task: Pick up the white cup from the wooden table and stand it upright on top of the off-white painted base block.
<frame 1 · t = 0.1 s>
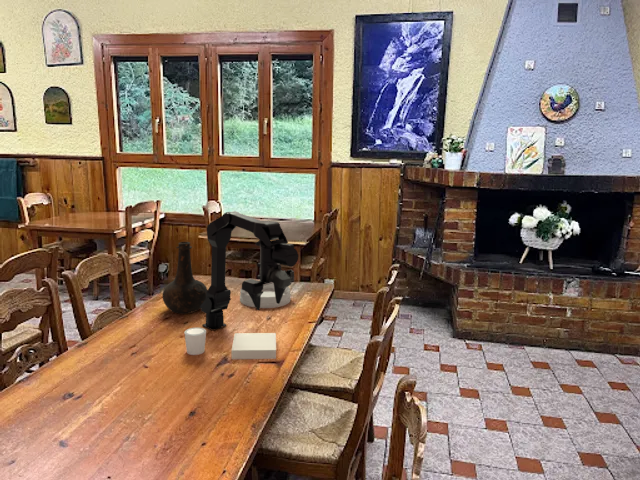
hand: (268, 306, 158), 15 cm above the table, tool pointing down, fingers open, 9 cm apart
glass bottle: (185, 310, 195), on the table
white cup: (195, 351, 157), on the table
base block: (254, 349, 160), on the table
dish: (265, 300, 211), on the table
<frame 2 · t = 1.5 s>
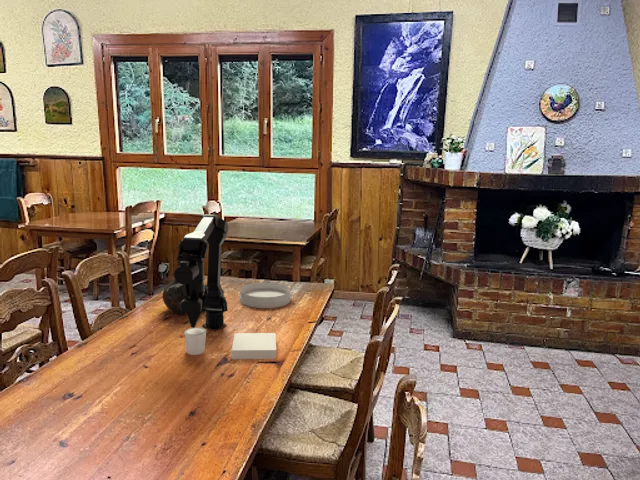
hand: (195, 322, 155), 10 cm above the table, tool pointing down, fingers open, 9 cm apart
nothing on the table moved.
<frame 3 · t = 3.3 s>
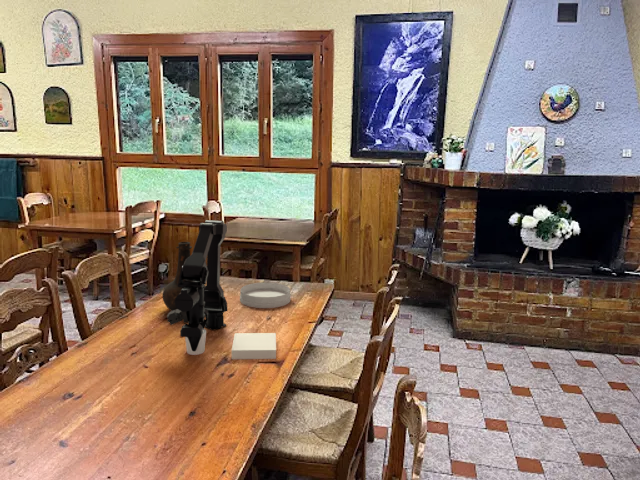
hand: (195, 346, 157), 2 cm above the table, tool pointing down, fingers closed on white cup, 6 cm apart
white cup: (195, 351, 157), on the table, touching gripper
everything else where it was.
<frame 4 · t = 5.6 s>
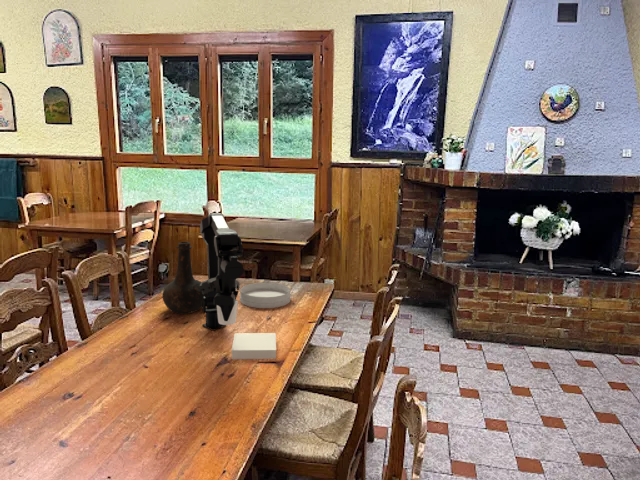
hand: (227, 317, 156), 12 cm above the table, tool pointing down, fingers closed on white cup, 6 cm apart
white cup: (227, 322, 156), point 10 cm above the table, touching gripper
everything else where it was.
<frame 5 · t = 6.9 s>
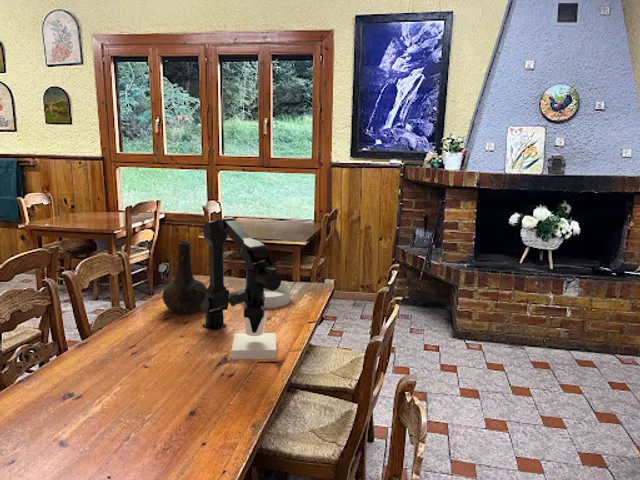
hand: (254, 328, 158), 7 cm above the table, tool pointing down, fingers closed on white cup, 6 cm apart
white cup: (254, 333, 159), point 6 cm above the table, touching gripper
everything else where it was.
when the fingers open (6 cm above the table, at t = 8.0 s): white cup drops 1 cm, resting on base block.
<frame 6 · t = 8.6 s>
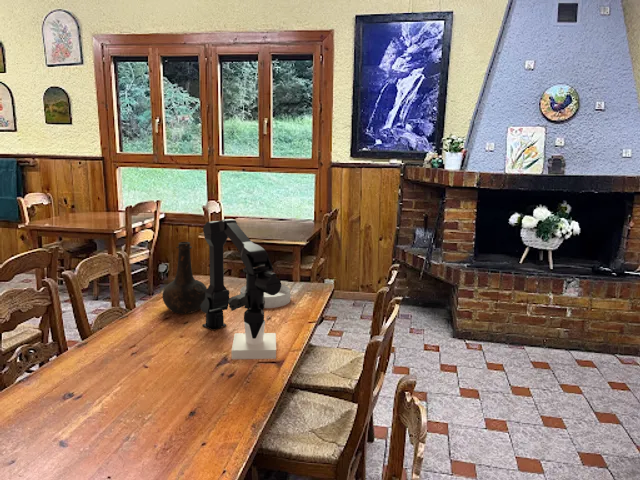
hand: (254, 332, 159), 6 cm above the table, tool pointing down, fingers open, 9 cm apart
white cup: (254, 341, 159), point 3 cm above the table, touching base block
everything else where it was.
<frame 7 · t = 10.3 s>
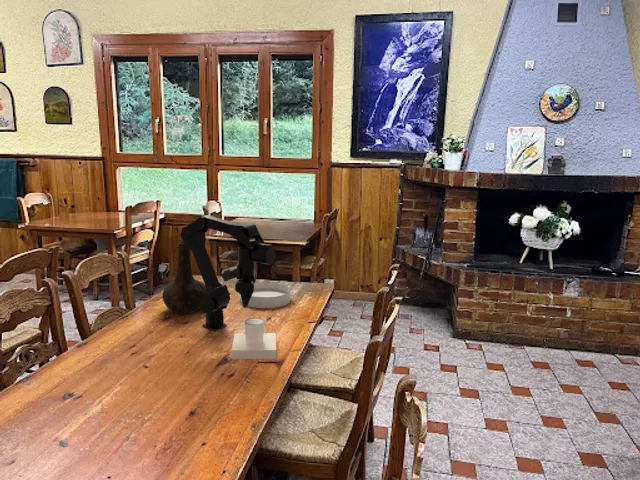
hand: (246, 303, 170), 12 cm above the table, tool pointing down, fingers open, 9 cm apart
nothing on the table moved.
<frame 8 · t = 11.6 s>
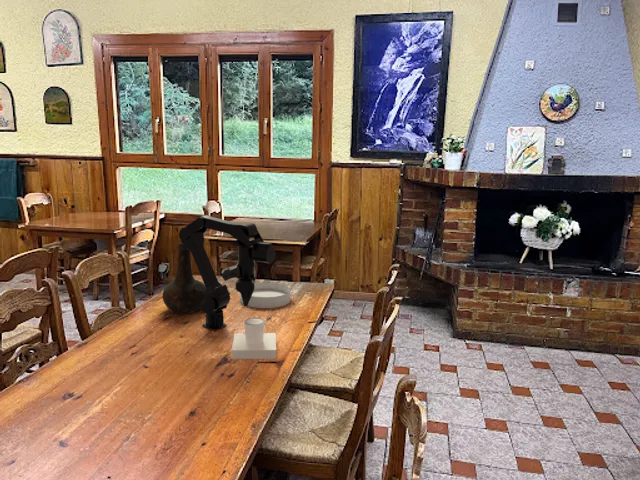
hand: (246, 302, 170), 12 cm above the table, tool pointing down, fingers open, 9 cm apart
nothing on the table moved.
at the end: white cup inside the target area on the base block (0.1 cm from its centre), point 2.8 cm above the base block's base; white cup tilted 0°; the gripper is holding nothing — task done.
